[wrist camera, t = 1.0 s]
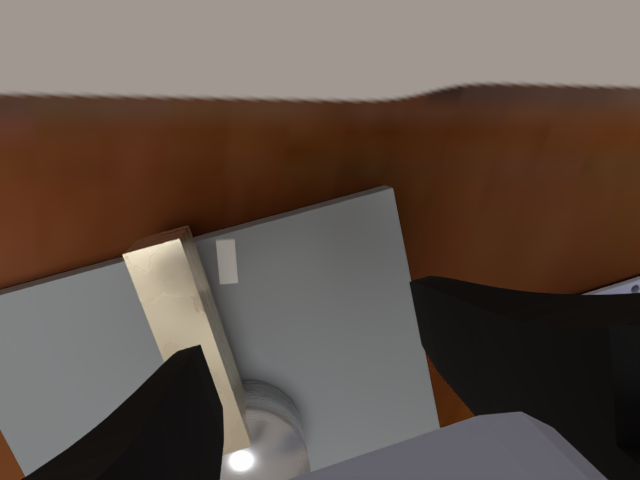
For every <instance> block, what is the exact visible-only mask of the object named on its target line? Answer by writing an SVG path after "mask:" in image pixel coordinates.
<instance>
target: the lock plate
mask: <svg viewBox="0 0 640 480" xmlns="http://www.w3.org/2000/svg"><path fill="white" fill-rule="evenodd" d="M193 239H194V242H195V245H196V248H197V251H198V254H199V257H200V260H201V263H202V266H203V269H204V272H205V275H206V278H207V281H208V284H209V287H210V290H211V293H212V295H213V298H214V301H215V304H216V307H217V310H218V313H219V316H220V319H221V322H222V325H223V328H224V331H225V334H226V337H227V340H228V343H229V346H230V349H231V352H232V355H233V358H234V361H235V364H236V367H237V370H238V373H239V376H240V379H241V380H251V381H259V382H263V383H267V384H270V385H272V386H274V387H276V388H278V389H280V390H281V391H283V392H284V393H285V394H286V395H288V396H289V397H290V398H291V400H292V401H293V402H294V403H295V405H296V407H297V408H298V411H299V413H300V416H301V420H302V425H303V431H304V436H305V441H306V446H307V452H308V457H309V462H310V470H311V472H312V471H315V470H318V469H321V468H324V467H327V466H330V465H333V464H336V463H339V462H342V461H345V460H348V459H351V458H354V457H357V456H360V455H363V454H366V453H369V452H372V451H375V450H378V449H381V448H384V447H387V446H390V445H393V444H396V443H399V442H402V441H405V440H407V439H410V438H413V437H416V436H419V435H422V434H425V433H428V432H431V431H434V430H437V429H440V426H439V421H438V416H437V411H436V405H435V400H434V395H433V390H432V385H431V380H430V375H429V370H428V365H427V360H426V354H425V350H424V348H423V347H422V344H421V339H420V334H419V329H418V324H417V319H416V314H415V309H414V304H413V299H412V294H411V288H410V283H409V282H411V278H410V273H409V268H408V262H407V257H406V252H405V247H404V242H403V237H402V232H401V227H400V222H399V216H398V211H397V206H396V201H395V196H394V191H393V188H392V187H389V186H386V185H384V186H380V187H376V188H373V189H369V190H365V191H361V192H358V193H354V194H350V195H347V196H343V197H339V198H336V199H332V200H328V201H325V202H321V203H317V204H314V205H310V206H306V207H303V208H299V209H295V210H292V211H288V212H284V213H281V214H277V215H273V216H270V217H266V218H262V219H259V220H255V221H251V222H247V223H244V224H240V225H236V226H233V227H229V228H225V229H222V230H218V231H214V232H211V233H207V234H203V235H200V236H196V237H193ZM163 363H164V361H163V358H162V356H161V353H160V351H159V348H158V345H157V343H156V340H155V338H154V335H153V333H152V330H151V327H150V325H149V322H148V320H147V317H146V315H145V312H144V309H143V307H142V304H141V302H140V299H139V297H138V294H137V291H136V289H135V286H134V284H133V281H132V279H131V276H130V273H129V271H128V268H127V266H126V263H125V261H124V258H123V256H122V257H119V258H115V259H111V260H108V261H104V262H100V263H97V264H93V265H89V266H86V267H82V268H78V269H75V270H71V271H67V272H64V273H60V274H56V275H53V276H49V277H45V278H42V279H38V280H34V281H31V282H27V283H23V284H19V285H16V286H12V287H8V288H5V289H1V290H0V430H1V432H2V433H3V435H4V437H5V439H6V441H7V443H8V445H9V447H10V448H11V450H12V452H13V454H14V456H15V458H16V460H17V462H18V463H19V465H20V467H21V469H22V471H23V473H24V475H25V476H28V475H29V474H31V473H32V472H33V471H35V470H36V469H38V468H39V467H41V466H42V465H44V464H45V463H47V462H48V461H50V460H51V459H53V458H54V457H56V456H57V455H59V454H60V453H62V452H63V451H65V450H66V449H67V448H69V447H70V446H71V445H73V444H74V443H75V442H77V441H78V440H79V439H81V438H82V437H83V436H84V435H86V434H87V433H88V432H90V431H91V430H92V429H93V428H95V427H96V426H97V425H98V424H99V423H101V422H102V421H103V420H104V419H105V418H107V417H108V416H109V415H110V414H111V413H112V412H113V411H114V410H115V409H116V408H118V407H119V406H120V405H121V404H122V403H123V402H124V401H125V400H126V399H127V398H128V397H130V396H131V395H132V394H133V393H134V392H135V391H136V390H137V389H138V388H139V387H140V386H141V385H142V384H143V383H144V382H145V381H146V380H147V379H148V378H149V377H150V376H151V375H152V374H153V373H154V372H155V371H156V370H157V369H158V368H159V367H160V366H161V365H162V364H163Z"/></svg>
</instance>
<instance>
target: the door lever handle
mask: <svg viewBox="0 0 640 480" xmlns="http://www.w3.org/2000/svg"><path fill="white" fill-rule="evenodd" d="M122 255H123V258H124V261H125V263H126V266H127V268H128V271H129V273H130V276H131V279H132V281H133V284H134V286H135V289H136V291H137V294H138V297H139V299H140V302H141V304H142V307H143V309H144V312H145V315H146V317H147V320H148V322H149V325H150V327H151V330H152V333H153V335H154V338H155V340H156V343H157V345H158V348H159V351H160V353H161V356H162V358H163V361H164V362H165V361H166V360H167V359H168V358H170V357H171V356H172V355H173V354H174V353H176V352H177V351H179V350H183V349H186V348H189V347H193V346H196V345H199V344H200V345H201V347H202V350H203V353H204V356H205V359H206V361H207V364H208V367H209V370H210V373H211V375H212V378H213V381H214V384H215V387H216V389H217V392H218V395H219V398H220V401H221V403H222V406H223V418H224V447H223V456H222V465H221V474H220V480H289V479H292V478H295V477H298V476H300V475H303V474H306V473H309V472H311V470H310V462H309V457H308V452H307V446H306V441H305V436H304V431H303V425H302V420H301V416H300V413H299V411H298V408H297V407H296V405H295V403H294V402H293V401H292V400H291V398H290V397H289V396H288V395H286V394H285V393H284V392H283V391H281V390H280V389H278V388H276V387H274V386H272V385H270V384H267V383H263V382H259V381H251V380H241V379H240V376H239V373H238V370H237V367H236V364H235V361H234V358H233V355H232V352H231V349H230V346H229V343H228V340H227V337H226V334H225V331H224V328H223V325H222V322H221V319H220V316H219V313H218V310H217V307H216V304H215V301H214V298H213V295H212V293H211V290H210V287H209V284H208V281H207V278H206V275H205V272H204V269H203V266H202V263H201V260H200V257H199V254H198V251H197V248H196V245H195V242H194V239H193V236H192V233H191V230H190V227H189V225H187V226H183V227H180V228H176V229H172V230H169V231H165V232H161V233H157V234H154V235H150V236H146V237H143V238H139V239H138V240H137V241H136V242H135V243H134V244H133V245H132V246H130V247H129V248H128V249H127V250H126V251H125V252H124V253H123V254H122Z"/></svg>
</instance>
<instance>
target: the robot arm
mask: <svg viewBox="0 0 640 480" xmlns="http://www.w3.org/2000/svg"><path fill="white" fill-rule="evenodd" d="M409 283H410V288H411V294H412V299H413V304H414V309H415V314H416V319H417V324H418V329H419V334H420V339H421V344H422V347H423V348H424V350H425V352H426V353H427V355H428V357H429V358H430V360H431V361H432V363H433V365H434V366H435V368H436V369H437V371H438V372H439V373H440V375H441V376H442V377H443V378H444V380H445V381H446V382H447V383H448V384H449V385H450V387H451V388H452V389H453V390H454V391H455V393H456V394H457V395H458V396H459V397H460V398H461V400H462V401H463V402H464V403H465V404H466V405H467V407H468V408H469V409H470V410H471V411H472V412H473V414H474V415H475V416H476V417H473V418H470V419H467V420H464V421H461V422H458V423H455V424H452V425H449V426H446V427H443V428H440V429H437V430H434V431H431V432H428V433H425V434H422V435H419V436H416V437H413V438H410V439H407V440H405V441H402V442H399V443H396V444H393V445H390V446H387V447H384V448H381V449H378V450H375V451H372V452H369V453H366V454H363V455H360V456H357V457H354V458H351V459H348V460H345V461H342V462H339V463H336V464H333V465H330V466H327V467H324V468H321V469H318V470H315V471H312V472H309V473H306V474H303V475H300V476H298V477H295V478H292V479H289V480H640V276H639V277H636V278H632V279H629V280H626V281H623V282H620V283H617V284H613V285H610V286H607V287H604V288H601V289H597V290H594V291H591V292H588V293H585V294H581V295H569V294H550V293H535V292H525V291H518V290H511V289H504V288H497V287H491V286H486V285H481V284H475V283H470V282H465V281H460V280H455V279H450V278H445V277H438V276H428V277H425V278H421V279H418V280H414V281H411V282H409ZM632 287H633V289H632ZM631 289H632V290H631ZM223 447H224V418H223V406H222V403H221V401H220V398H219V395H218V392H217V389H216V387H215V384H214V381H213V378H212V375H211V373H210V370H209V367H208V364H207V361H206V359H205V356H204V353H203V350H202V347H201V345H200V344H199V345H196V346H193V347H189V348H186V349H183V350H179V351H177V352H176V353H174V354H173V355H172V356H171V357H170V358H168V359H167V360H166V361H165V362H164V363H163V364H162V365H161V366H160V367H159V368H158V369H157V370H156V371H155V372H154V373H153V374H152V375H151V376H150V377H149V378H148V379H147V380H146V381H145V382H144V383H143V384H142V385H141V386H140V387H139V388H138V389H137V390H136V391H135V392H134V393H133V394H132V395H131V396H130V397H128V398H127V399H126V400H125V401H124V402H123V403H122V404H121V405H120V406H119V407H118V408H116V409H115V410H114V411H113V412H112V413H111V414H110V415H109V416H108V417H107V418H105V419H104V420H103V421H102V422H101V423H99V424H98V425H97V426H96V427H95V428H93V429H92V430H91V431H90V432H88V433H87V434H86V435H84V436H83V437H82V438H81V439H79V440H78V441H77V442H75V443H74V444H73V445H71V446H70V447H69V448H67V449H66V450H65V451H63V452H62V453H60V454H59V455H57V456H56V457H54V458H53V459H51V460H50V461H48V462H47V463H45V464H44V465H42V466H41V467H39V468H38V469H36V470H35V471H33V472H32V473H31V474H29V475H28V476H26V477H25V478H23V479H21V480H220V474H221V465H222V456H223Z"/></svg>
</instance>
